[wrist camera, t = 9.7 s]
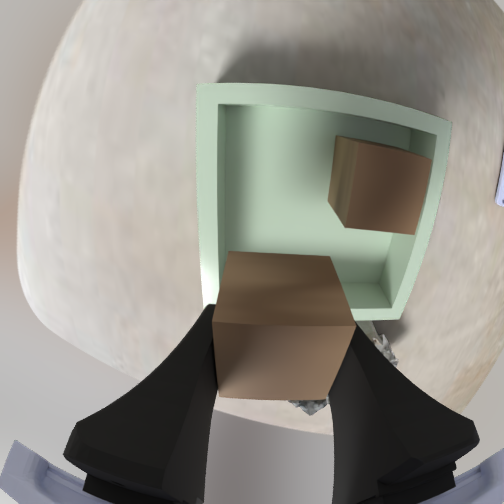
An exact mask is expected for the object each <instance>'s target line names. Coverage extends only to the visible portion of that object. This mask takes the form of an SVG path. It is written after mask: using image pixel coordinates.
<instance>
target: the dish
mask: <svg viewBox="0 0 504 504" xmlns="http://www.w3.org/2000/svg"><path fill="white" fill-rule="evenodd" d="M451 130H452V122H450V121H448V120H445V119H442V118H440V117H437V116H434V115H431V114H428V113H425V112H422V111H419V110H416V109H412V108H409V107H406V106H402V105H398V104H395V103H391V102H387V101H383V100H379V99H374V98H370V97H365V96H361V95H356V94H350V93H345V92H339V91H333V90H326V89H319V88H311V87H303V86H293V85H280V84H263V83H206V84H197V88H196V183H197V212H198V233H199V250H200V265H201V279H202V291H203V303H204V309H205V307H206V306H207V305H208V304H216V302H217V297H218V293H219V289H220V285H221V280H222V276H223V272H224V268H225V264H226V260H227V255H228V251H241V252H261V253H280V254H300V255H319V256H330V258H331V260H332V262H333V265H334V267H335V270H336V272H337V275H338V278H339V280H340V283H341V285H342V288H343V291H344V293H345V296H346V299H347V301H348V304H349V307H350V309H351V312H352V315H353V318H354V320H355V321H360V320H394V319H400V317H401V314H402V312H403V310H404V307H405V305H406V303H407V300H408V298H409V295H410V293H411V290H412V288H413V285H414V283H415V280H416V277H417V274H418V272H419V269H420V266H421V263H422V260H423V257H424V254H425V251H426V248H427V245H428V242H429V238H430V235H431V231H432V228H433V224H434V221H435V217H436V213H437V209H438V205H439V201H440V196H441V192H442V187H443V182H444V177H445V172H446V166H447V160H448V153H449V146H450V139H451ZM336 135H338V136H344V137H350V138H356V139H362V140H367V141H372V142H377V143H381V144H386V145H391V146H395V147H399V148H402V149H404V150H407V151H410V152H413V153H416V154H418V155H421V156H424V157H426V158H429V159H432V162H431V168H430V173H429V178H428V183H427V188H426V193H425V197H424V201H423V205H422V210H421V213H420V217H419V221H418V225H417V228H416V232H415V235H408V234H399V233H390V232H381V231H371V230H361V229H351V228H344V226H343V224H342V223H341V221H340V220H339V218H338V217H337V215H336V213H335V212H334V210H333V209H332V207H331V206H330V204H329V203H328V201H327V200H328V193H329V186H330V179H331V171H332V163H333V155H334V147H335V137H336Z"/></svg>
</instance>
